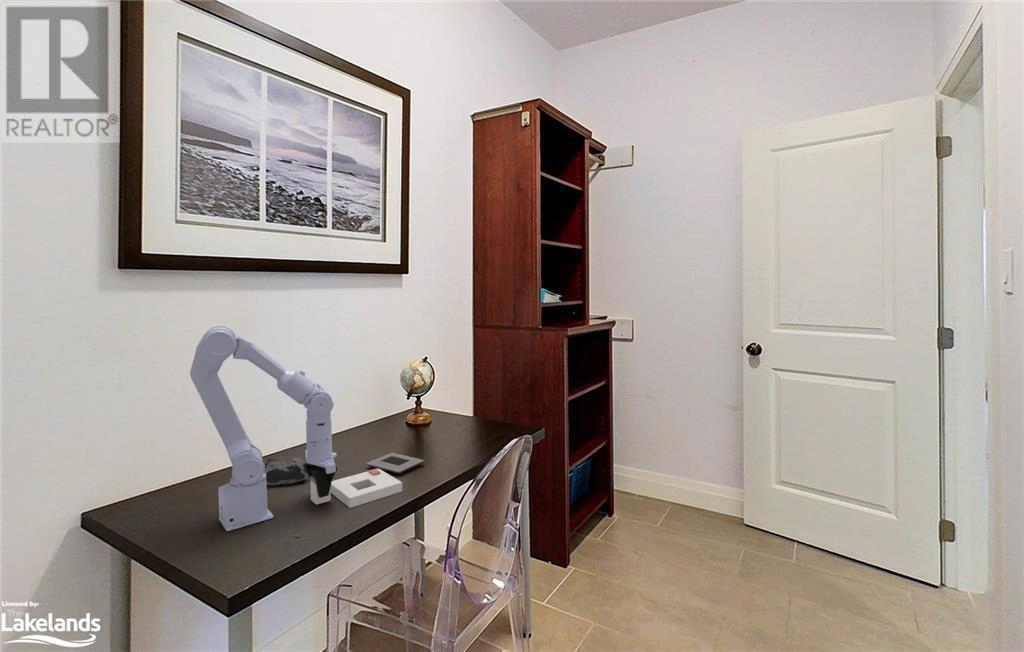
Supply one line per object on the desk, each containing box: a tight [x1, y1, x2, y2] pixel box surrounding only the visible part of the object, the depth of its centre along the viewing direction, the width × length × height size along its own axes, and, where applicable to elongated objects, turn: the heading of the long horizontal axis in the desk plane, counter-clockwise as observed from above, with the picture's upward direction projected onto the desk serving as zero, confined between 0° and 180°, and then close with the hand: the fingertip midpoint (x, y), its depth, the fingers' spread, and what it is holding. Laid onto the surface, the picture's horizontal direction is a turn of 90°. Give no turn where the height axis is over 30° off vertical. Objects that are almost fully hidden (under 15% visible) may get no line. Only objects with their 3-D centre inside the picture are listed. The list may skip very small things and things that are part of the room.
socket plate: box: [330, 468, 403, 509], centre depth 124 cm, size 14×13×3 cm
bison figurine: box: [264, 457, 309, 486], centre depth 131 cm, size 12×7×10 cm
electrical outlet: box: [365, 452, 425, 475], centre depth 140 cm, size 13×10×2 cm
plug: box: [309, 475, 332, 506], centre depth 117 cm, size 4×4×6 cm
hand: (320, 493), depth 117 cm, fingers closed on plug, 3 cm apart
